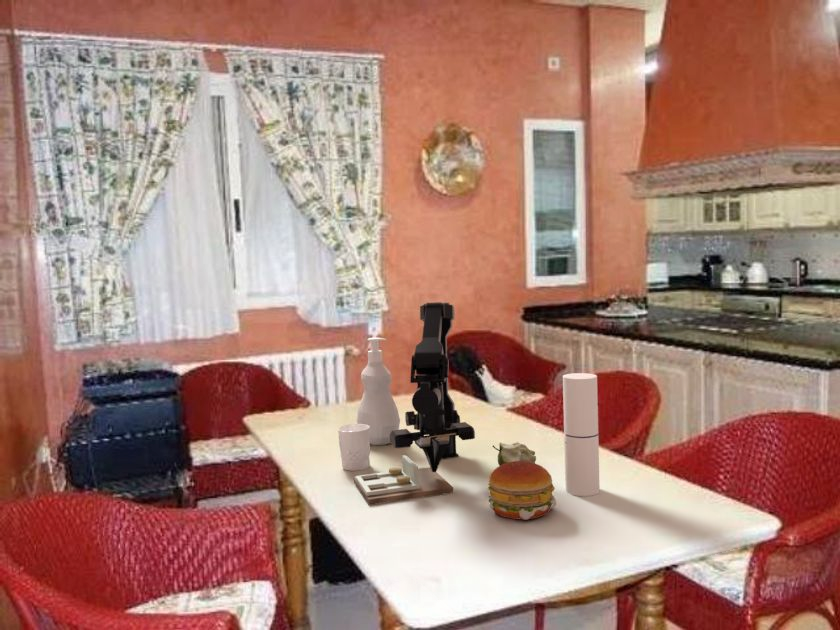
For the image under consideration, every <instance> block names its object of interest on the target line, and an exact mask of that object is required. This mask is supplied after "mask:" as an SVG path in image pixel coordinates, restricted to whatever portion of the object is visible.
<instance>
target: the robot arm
mask: <svg viewBox="0 0 840 630" xmlns="http://www.w3.org/2000/svg"><path fill="white" fill-rule="evenodd" d="M419 314H420V315H419V317H420V319H419V321H421V322H423V327H422V328H423V329H422V338H421V341H420V342H418V344H416V345H415V349H414V354H412V355H411V361H410V362H411V363H410V364H411V365H410V366H411V367H410V379H409V380H410V381H409V382H410V384H416V385H417V388H416V390H415V392H414V394H413V396H412V398H411V404H412V408H413V409H414V410H415V411H414V410H410V411H406V412H405V415H404V417H405V418H404V419H405V425H406V427H408V426H409V427H410V426H411V427H412V426H413V430H415V431H416V432H411V431H410V430H409V429H408V428H403V429H399V430H392V432H391V433H390V443H389V444H391V445H392V446H393V447H394V448H395V449H402V448H410V447H411V446H412V444H415V445H416V446H417V447H418V448H419V449H420V450H422V451H423V453H424V454H425V457H426V460H427V462H428V466H429V467H430V468H431V471H432V472H437V471H438V468H439V466H440V463H441V460H443V459H449V458H456V457H457V458H458V457H459V453H457V441H456V439H457V437H458V438H459V439H461V441H468V440H469V441H470V440H474V439H476V432H475V428H474V427H473V426H472V425H470V424H469V423H467V422H466V421H463V422H461V417H460V416H461V415H459V413H458V410H457V409H455V405H456V404H455V402H454V400H453V399H452V397H451V395H450V394H449V381H448V380H449V367H450V365H449V358H448V345H447V344H448V341H447V339H448V335H449V334H450V331H451V330H452V328H453V321H455V315H456V314H455V306H454V305H453V304H450V302H441V301H440V302H438V301H436V302H434V301H433V302H426V303H423V305H420V306H419ZM415 412H416V413H415Z"/></svg>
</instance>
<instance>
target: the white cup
mask: <svg viewBox="0 0 840 630" xmlns="http://www.w3.org/2000/svg"><path fill="white" fill-rule="evenodd" d="M337 433H338V441H339V450H340V451H339V452H340V458H341V466H342V469H343V470H345V471H351V472H352V471H353V472H355V471H362V470H366V469H367V468H369V467H370V454H371V451H370V449H371V444H370V426H368V425H365V424H358V423H352V424H351V423H349V424H345V425H341V426H339V427H338V429H337Z"/></svg>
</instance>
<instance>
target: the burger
mask: <svg viewBox="0 0 840 630" xmlns="http://www.w3.org/2000/svg"><path fill="white" fill-rule="evenodd" d="M488 477H489V480H488V484H487V485H488V488H487V489H488V491H489V495H488V502H489V506H490V509H492V510H493V512H494V513H495V514H497V515H499V516H501V517H503V518H508V519H514V520H529V519H530V520H531V519H536V518H539V517H542V516H545V515H547V513H549V512H550V510H554V508H555V507H556V506H557V502H556V497H555V495H553V492H554V491H555V489H556V488H555V486H554V484H553V479H552V478H553V477H552V475H551V474H550V472H549V471H548V470H547V469H546V468H545V467H543V466H542V465H540V464H537V463H536V462H535V463H532V462H527V461H513V462H508V463H505V464H503V465H501V466H499V465H498V466H497V467H496V468H495V469H494V470H492V472H491V474H490V475H489V476H488Z"/></svg>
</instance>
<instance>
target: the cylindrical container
mask: <svg viewBox="0 0 840 630" xmlns="http://www.w3.org/2000/svg"><path fill="white" fill-rule="evenodd" d="M562 397H563V400H562V401H563V404H562V405H563V431H564V432H563V434H564V436H563V438H564V439H563V441H564V471H565V472H564V474H565V492H566V493H567V494H570V495H572V496H575V497H576V496H577V497H592V496H595V495H597V494H599V493H600V488H601V487H600V455H599V454H600V450H599V449H600V448H599V447H600V445H599V442H600V441H599V405H598V404H599V403H598V401H599V400H598V375H597V374H594V373H588V372H587V373H585V372H577V373H576V372H574V373H565V374H563V375H562Z"/></svg>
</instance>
